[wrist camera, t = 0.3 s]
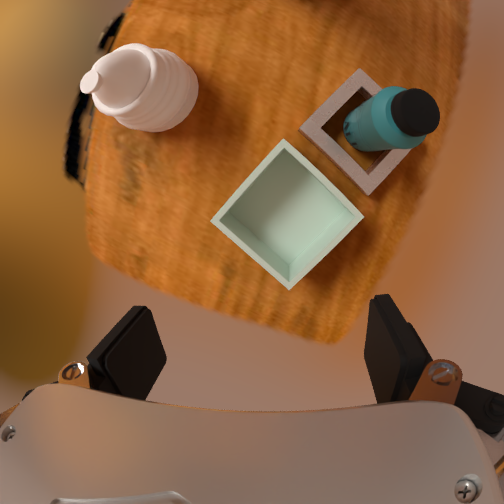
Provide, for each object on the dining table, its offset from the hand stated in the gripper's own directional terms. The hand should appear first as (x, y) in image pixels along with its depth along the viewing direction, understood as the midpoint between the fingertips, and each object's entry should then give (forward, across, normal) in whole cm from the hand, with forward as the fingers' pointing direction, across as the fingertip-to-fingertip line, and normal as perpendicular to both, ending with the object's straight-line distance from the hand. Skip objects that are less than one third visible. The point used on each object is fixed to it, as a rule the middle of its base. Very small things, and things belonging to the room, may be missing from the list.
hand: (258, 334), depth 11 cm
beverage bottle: (+31, -13, -10) cm, 35 cm away
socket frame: (+31, -13, -10) cm, 35 cm away
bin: (+31, -1, 0) cm, 31 cm away
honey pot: (+31, +16, -20) cm, 41 cm away
